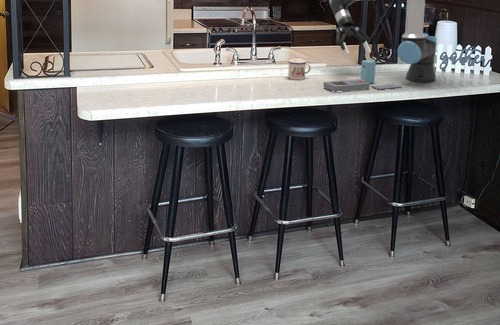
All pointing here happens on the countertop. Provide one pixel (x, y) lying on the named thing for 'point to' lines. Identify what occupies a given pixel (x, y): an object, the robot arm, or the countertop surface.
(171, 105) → the countertop surface
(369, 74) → the brick
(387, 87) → the phone
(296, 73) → the teacup with lid
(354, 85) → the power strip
